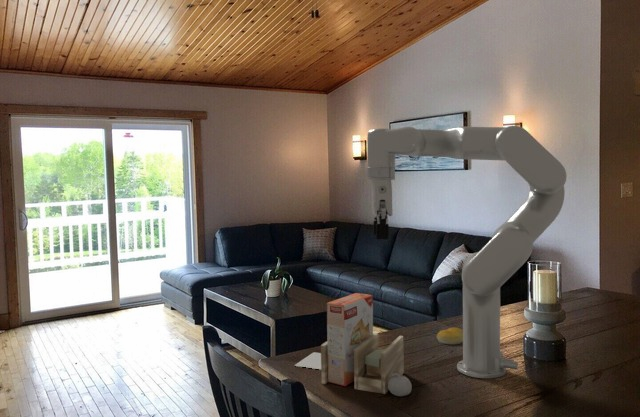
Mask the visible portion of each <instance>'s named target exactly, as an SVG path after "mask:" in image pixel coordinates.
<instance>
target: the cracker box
mask: <svg viewBox="0 0 640 417" xmlns="http://www.w3.org/2000/svg"><path fill="white" fill-rule="evenodd" d="M326 313H327V314H326V319H327V320H326V324H327V325H326V332H327V334H326V337H327V338H326V339H327V355H328V382H327V383H331V384H335V385H339V386H342V387H346V386H348V385H350V384H351V383H353V382H354V349H355V348H356V347H357V346H359V345H360V344H361V343H363V342H364V341H365V340H366V339H368V338H369V337H370V336H371V335H373V334H374V296H373V295H371V294H367V293H359V292H354V293H352V294H349V295H346V296H343V297H340V298H337V299H334V300H331V301H329V302H327V303H326Z"/></svg>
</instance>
